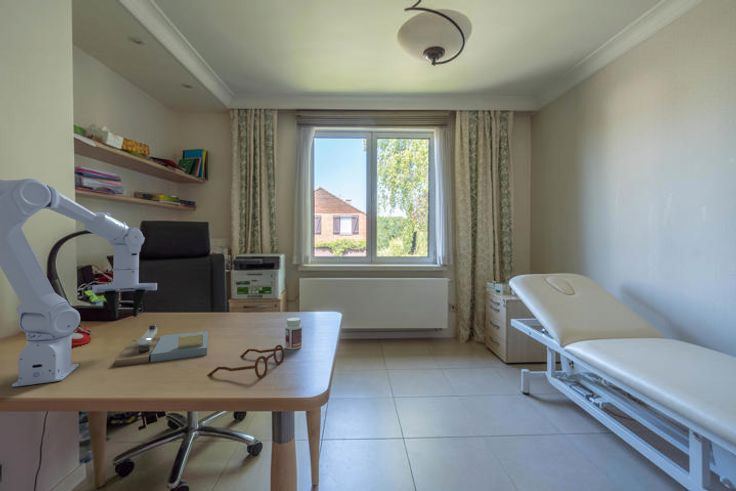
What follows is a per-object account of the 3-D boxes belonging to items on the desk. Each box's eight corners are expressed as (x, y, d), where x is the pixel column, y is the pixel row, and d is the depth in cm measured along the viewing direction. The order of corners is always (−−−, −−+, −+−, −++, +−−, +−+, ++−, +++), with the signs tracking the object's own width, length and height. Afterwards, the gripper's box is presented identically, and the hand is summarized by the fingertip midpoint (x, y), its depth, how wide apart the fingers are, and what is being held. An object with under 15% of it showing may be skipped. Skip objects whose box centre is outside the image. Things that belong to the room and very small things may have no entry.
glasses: (258, 383, 69) (258, 360, 69) (207, 377, 72) (207, 355, 72) (285, 361, 82) (285, 342, 82) (241, 357, 85) (241, 339, 85)
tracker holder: (93, 342, 92) (46, 340, 86) (88, 355, 92) (41, 355, 86) (95, 324, 101) (53, 322, 95) (91, 337, 102) (48, 335, 95)
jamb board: (148, 362, 79) (148, 351, 79) (115, 366, 76) (115, 355, 76) (160, 342, 96) (160, 333, 96) (133, 345, 93) (133, 335, 93)
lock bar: (150, 346, 82) (150, 337, 82) (135, 347, 81) (135, 338, 81) (159, 332, 95) (159, 324, 95) (147, 333, 94) (147, 325, 94)
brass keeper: (203, 345, 87) (203, 334, 87) (178, 348, 84) (178, 337, 84) (203, 341, 91) (203, 330, 91) (179, 343, 88) (179, 333, 88)
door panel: (206, 354, 85) (206, 347, 85) (150, 362, 80) (150, 354, 80) (208, 337, 101) (208, 331, 101) (161, 342, 96) (161, 335, 96)
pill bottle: (303, 345, 95) (304, 317, 95) (298, 350, 90) (299, 321, 90) (288, 344, 95) (288, 317, 95) (282, 349, 90) (283, 320, 90)
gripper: (159, 267, 95) (158, 311, 95) (98, 268, 89) (98, 316, 89) (154, 269, 89) (154, 316, 89) (89, 270, 83) (88, 321, 83)
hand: (125, 316), depth 89 cm, fingers open, 4 cm apart
